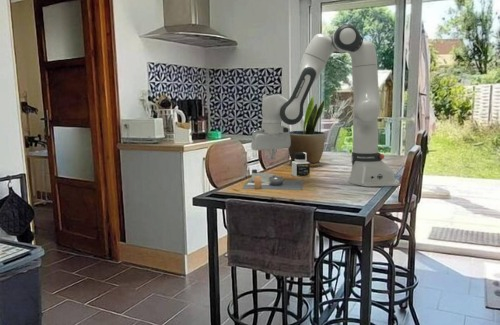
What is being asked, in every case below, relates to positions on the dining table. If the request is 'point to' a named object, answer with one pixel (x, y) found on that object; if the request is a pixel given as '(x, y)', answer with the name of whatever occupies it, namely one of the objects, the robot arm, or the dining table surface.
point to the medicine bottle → (300, 165)
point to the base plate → (285, 186)
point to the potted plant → (309, 136)
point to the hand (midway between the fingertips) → (271, 158)
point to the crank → (268, 178)
